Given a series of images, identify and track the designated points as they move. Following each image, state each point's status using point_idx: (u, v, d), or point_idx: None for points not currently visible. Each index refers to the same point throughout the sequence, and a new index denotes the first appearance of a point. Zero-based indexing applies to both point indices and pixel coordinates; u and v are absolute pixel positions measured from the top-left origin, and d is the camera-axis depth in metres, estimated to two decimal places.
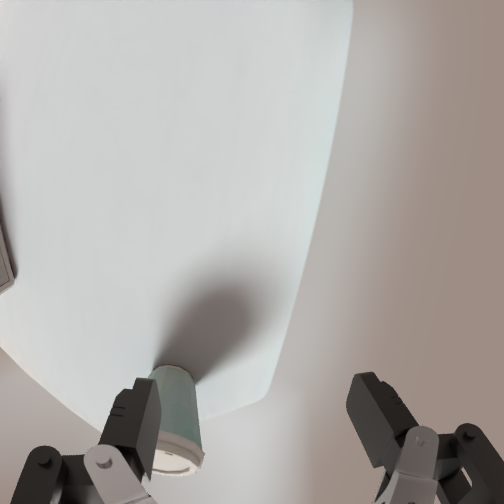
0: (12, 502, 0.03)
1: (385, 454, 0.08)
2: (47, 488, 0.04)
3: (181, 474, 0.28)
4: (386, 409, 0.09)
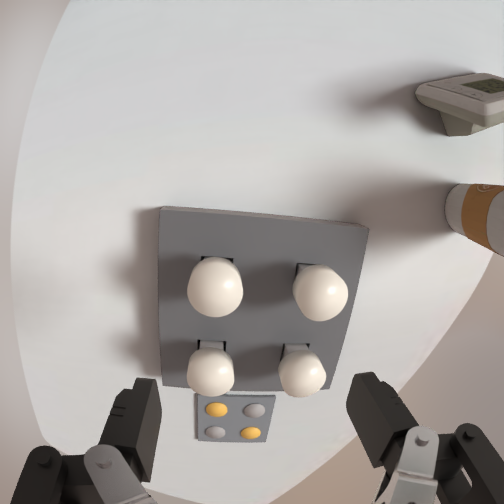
0: (12, 502, 0.03)
1: (385, 454, 0.08)
2: (47, 488, 0.04)
3: None
4: (386, 409, 0.09)
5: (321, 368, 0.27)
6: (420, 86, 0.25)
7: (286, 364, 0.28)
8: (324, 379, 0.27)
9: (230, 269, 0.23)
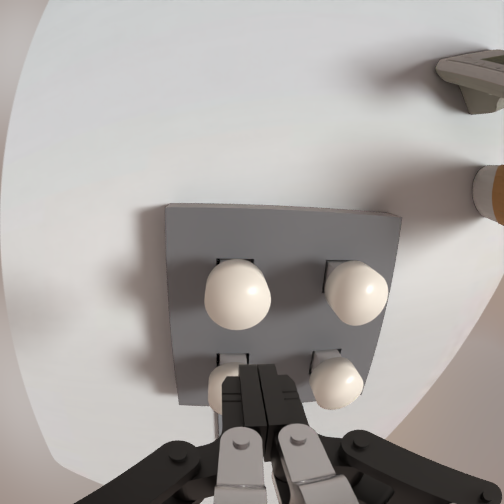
0: (115, 480, 0.05)
1: (270, 448, 0.09)
2: (164, 483, 0.06)
3: None
4: (271, 401, 0.09)
5: (358, 376, 0.23)
6: (440, 61, 0.21)
7: (319, 375, 0.24)
8: (361, 388, 0.23)
9: (254, 273, 0.20)
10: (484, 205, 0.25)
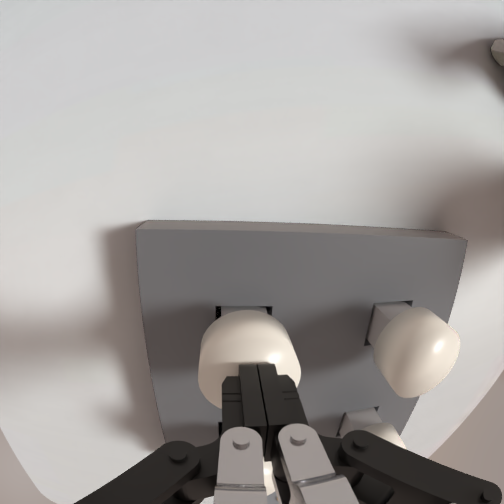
0: (115, 480, 0.05)
1: (270, 448, 0.09)
2: (164, 483, 0.06)
3: None
4: (271, 401, 0.09)
5: (403, 447, 0.15)
6: (497, 41, 0.13)
7: None
8: None
9: (277, 339, 0.12)
10: None
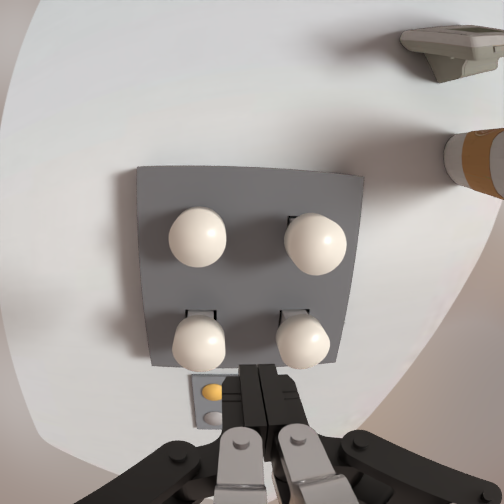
0: (115, 480, 0.05)
1: (270, 448, 0.09)
2: (164, 483, 0.06)
3: None
4: (271, 401, 0.09)
5: (323, 333, 0.24)
6: (404, 32, 0.22)
7: (284, 330, 0.25)
8: (328, 346, 0.25)
9: (211, 214, 0.22)
10: (455, 170, 0.27)
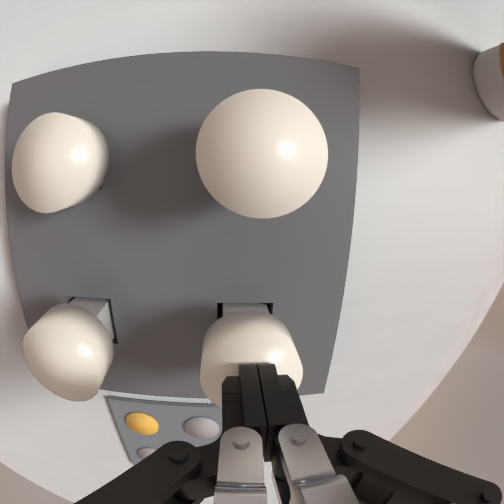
0: (115, 480, 0.05)
1: (270, 448, 0.09)
2: (164, 483, 0.06)
3: None
4: (271, 401, 0.09)
5: (288, 349, 0.12)
6: None
7: (209, 340, 0.13)
8: (299, 375, 0.12)
9: (71, 116, 0.10)
10: (494, 91, 0.14)
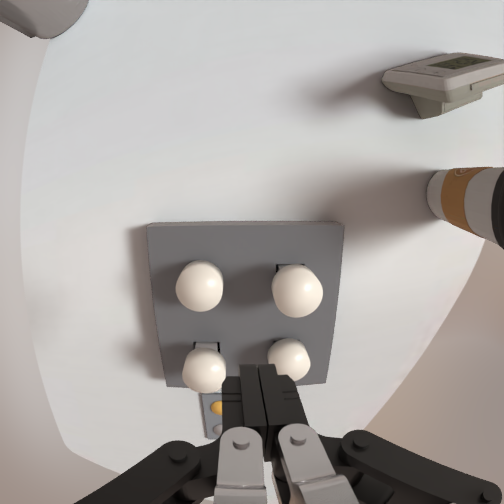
0: (115, 480, 0.05)
1: (270, 448, 0.09)
2: (164, 483, 0.06)
3: None
4: (271, 401, 0.09)
5: (304, 354, 0.30)
6: (385, 72, 0.27)
7: (272, 352, 0.31)
8: (309, 364, 0.30)
9: (209, 269, 0.27)
10: (436, 208, 0.30)
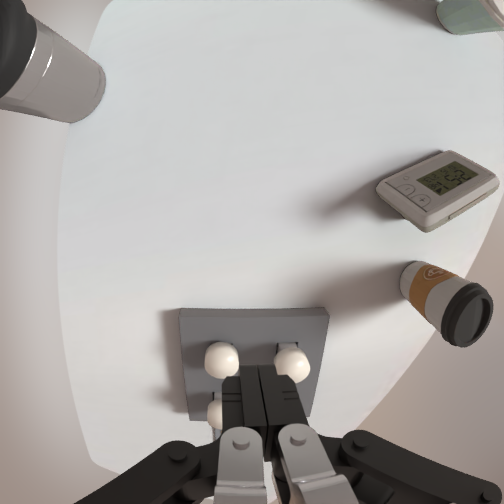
0: (115, 480, 0.05)
1: (270, 448, 0.09)
2: (164, 483, 0.06)
3: None
4: (271, 401, 0.09)
5: None
6: (380, 184, 0.36)
7: None
8: None
9: (230, 352, 0.36)
10: (405, 295, 0.40)
